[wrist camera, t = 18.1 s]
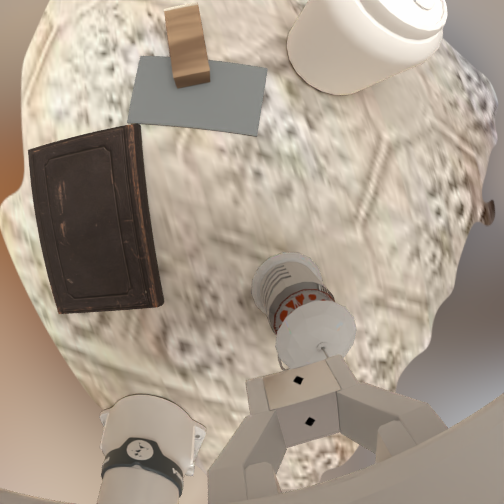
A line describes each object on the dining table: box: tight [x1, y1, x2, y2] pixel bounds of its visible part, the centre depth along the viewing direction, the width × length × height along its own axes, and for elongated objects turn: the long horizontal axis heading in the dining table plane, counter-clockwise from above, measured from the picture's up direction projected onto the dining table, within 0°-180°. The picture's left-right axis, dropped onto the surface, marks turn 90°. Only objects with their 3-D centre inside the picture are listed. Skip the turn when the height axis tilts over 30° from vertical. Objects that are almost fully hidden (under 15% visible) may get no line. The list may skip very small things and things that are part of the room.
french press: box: [251, 252, 357, 371], centre depth 30 cm, size 10×12×25 cm
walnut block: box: [164, 3, 210, 89], centre depth 30 cm, size 4×4×10 cm
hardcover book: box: [28, 124, 164, 314], centre depth 37 cm, size 16×23×2 cm
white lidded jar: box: [286, 0, 447, 95], centre depth 25 cm, size 12×12×20 cm
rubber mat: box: [127, 56, 268, 136], centre depth 34 cm, size 9×16×1 cm, turn 82°
